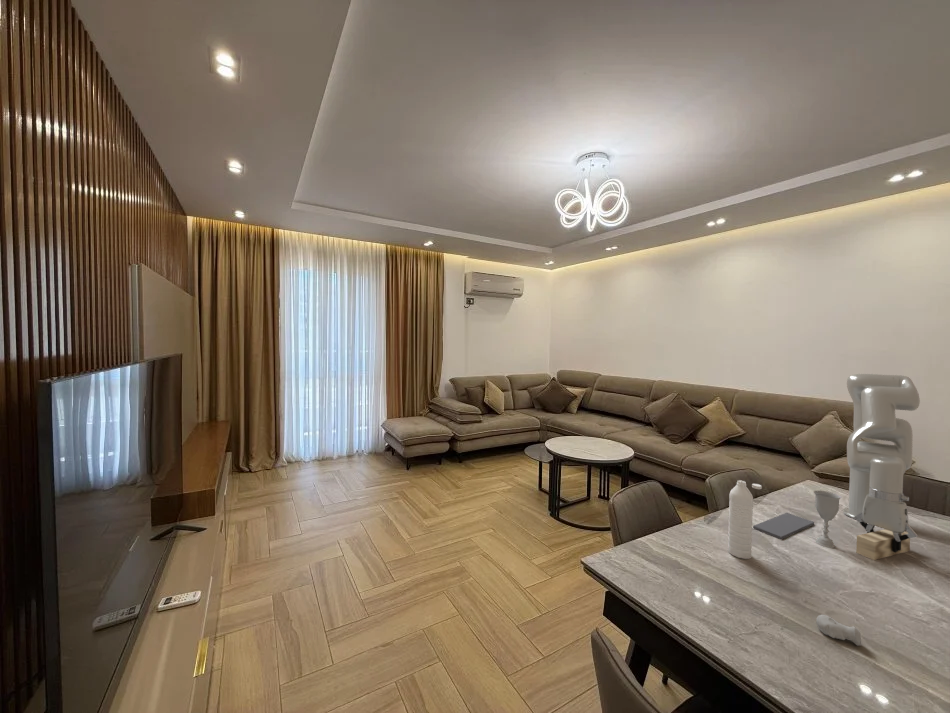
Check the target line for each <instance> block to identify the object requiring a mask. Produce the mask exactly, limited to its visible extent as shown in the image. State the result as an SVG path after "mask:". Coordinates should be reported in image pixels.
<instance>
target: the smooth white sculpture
mask: <svg viewBox="0 0 950 713" xmlns="http://www.w3.org/2000/svg"><path fill="white" fill-rule="evenodd" d="M815 621H816V622H815V623H816V626H817V627H818V630H819V631H820V632H822V633H823V634H824V635H825V636H829V637H830V638H832V639H837V640H838V639H839V640H842V641H845V640H849V641H851V642H853V643H854V645H856V646H862V645H863V644H862V636H861V631H860V629H858V628H857V627H856V626H853V625H852V626H848V625H845V624H843V623H840V622H839V621H837V620H835V619H834V618H832V617H831V616H828V615H826V614H819V615H817V617H816V620H815Z"/></svg>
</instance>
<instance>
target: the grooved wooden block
mask: <svg viewBox="0 0 950 713" xmlns="http://www.w3.org/2000/svg"><path fill="white" fill-rule="evenodd" d="M874 531H875V530H874ZM901 534H902V535H904V534H908V532H907V531H904V533H901ZM893 540H894V535H893V532H892V531H890V530H887V529H884V528H883V529H879V530H876V531H875V532H870V533H867V532H866V533H861V534H858V535H856V546H855V547H856V549H855V550H856V554H858V555H860V556H863V557H865V558H868V559H869V560H872V561H876V560H880V559H884V558H886V557H887V558H888V557H891V556H896V555H898V554H903V553H907V552H910V550H911V538H909V539H906V540H902V541H901V550H900V551H899V550H898V551H897V552H896V553H895V552H893V551H892V543H893Z"/></svg>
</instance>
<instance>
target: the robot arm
mask: <svg viewBox="0 0 950 713" xmlns="http://www.w3.org/2000/svg"><path fill="white" fill-rule="evenodd" d="M846 387H847V391H848V393H849V396H850V398H851V400H852V402H853V424H852V426H853V432H852V433H850V435H849V436H848V439H847V443H846V461H847V464H848V465H847V466H848V467H849V484H848V485H849V489H848V507H846V508H843V510H842V513H843V514H844V515H846V517H849V518H852V519H854V520H856V522H857V523H859V524H860V525H861V526H862V527H863V529H864V530H865V531H866V533H870V532H875V527H878V528H881V529H883V530H884V529H887V530H890V531H892V532H893V535H894V540H893V543H892V551H893V552H895V553H896V552H897V551H898V550H899V551H900V550H901V541H902V540H906V539H909V538H910V539H913V538H916V537H918V533H916V532H915V531H914V530H913V528H912V527H911V526H910V525H909V522H910V521H909V511H908V507H907V503H906V502H909V501H910V497H909V496H906V495H905V494H904V493H903V491H904V490H903V488H904V474H905V473H906V471H907V470H910V469H911V467H912V464H913V429H912V425H911V424H910V422H909V421H908V420H906V419H903V418H898V417H897V418H896V410H897V411H910V412H912V411H916V410H917V409H918V408H919V406H920V403H921V400H920V394H919V392H918V388H917V387H916V386H915V383H914V382H913V380H912V378H911V377H909V376H906V375H897V374H878V373H877V374H876V373H875V374H873V373H858V374H852V375H849V376H848V377H847V380H846ZM862 439H870V440H876V441H885V442H892V443H893V444H886V443H880V442H874V441H873V442H872V441H865V440H864V441H862ZM860 440H861V441H860ZM904 532H907V533H908V534H904V535H902V534H901V533H904Z"/></svg>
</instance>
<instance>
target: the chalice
mask: <svg viewBox="0 0 950 713" xmlns="http://www.w3.org/2000/svg"><path fill="white" fill-rule="evenodd" d="M813 493H814V495H815V498H814V499H815V501H814V503H815V504H814V506H815V509H816V512H817V513H818V515H819V517H820V518H821V519H822V520H823V521H824V522H823V523H822V526H823V529H822V531H823V535H819V536H818V538H817V539H816V540H815V543H816V544H818V545H820V546H822V547H825V548H831V549H833V548H836V546H835V543H834V542H833V539H832V538H831V537H829V535H828V533H830V531H829V527H830V525H829V521H833V519H835V517H836V515H837V514H838V513H839V511H840V499H841V498H842V496H841V495H839V494H837V493H835V492H830V491H827V490H826V491H825V490H813Z"/></svg>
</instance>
